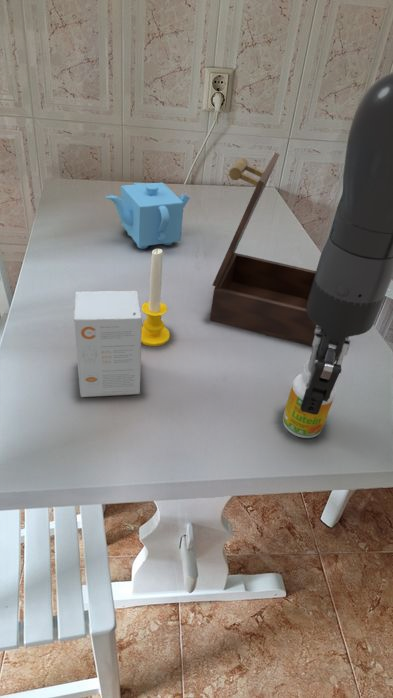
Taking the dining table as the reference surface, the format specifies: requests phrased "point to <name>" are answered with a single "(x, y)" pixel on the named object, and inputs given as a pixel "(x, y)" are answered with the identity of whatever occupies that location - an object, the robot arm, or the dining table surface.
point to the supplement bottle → (295, 417)
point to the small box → (108, 342)
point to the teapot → (150, 213)
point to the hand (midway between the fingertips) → (311, 394)
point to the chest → (265, 298)
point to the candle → (154, 306)
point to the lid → (260, 184)
